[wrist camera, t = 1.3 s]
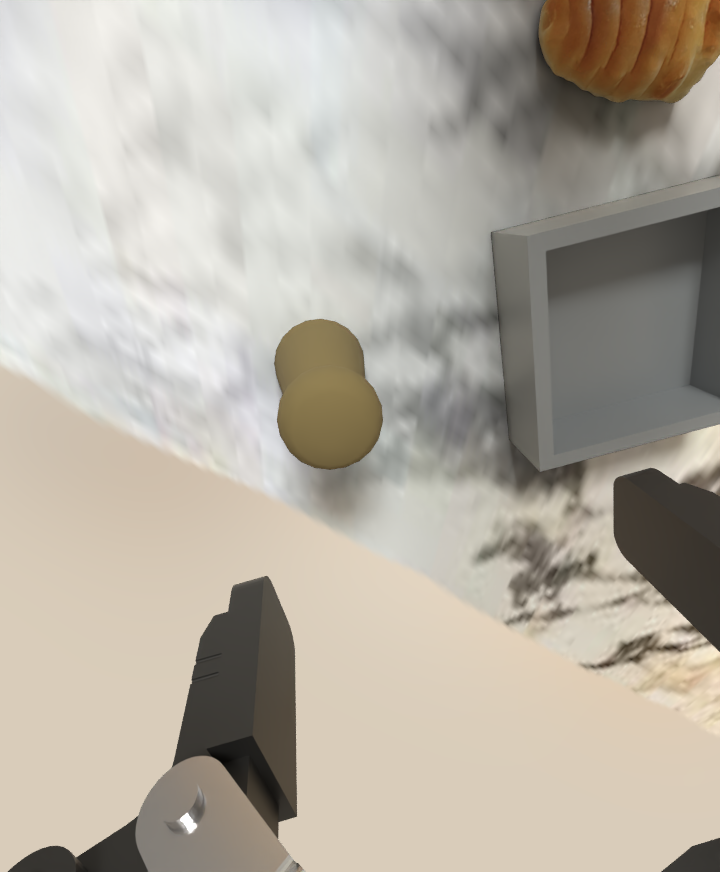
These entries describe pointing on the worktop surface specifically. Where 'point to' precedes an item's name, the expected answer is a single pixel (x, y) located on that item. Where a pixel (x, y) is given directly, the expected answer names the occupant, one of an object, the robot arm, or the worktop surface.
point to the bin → (611, 324)
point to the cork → (325, 396)
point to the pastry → (631, 45)
